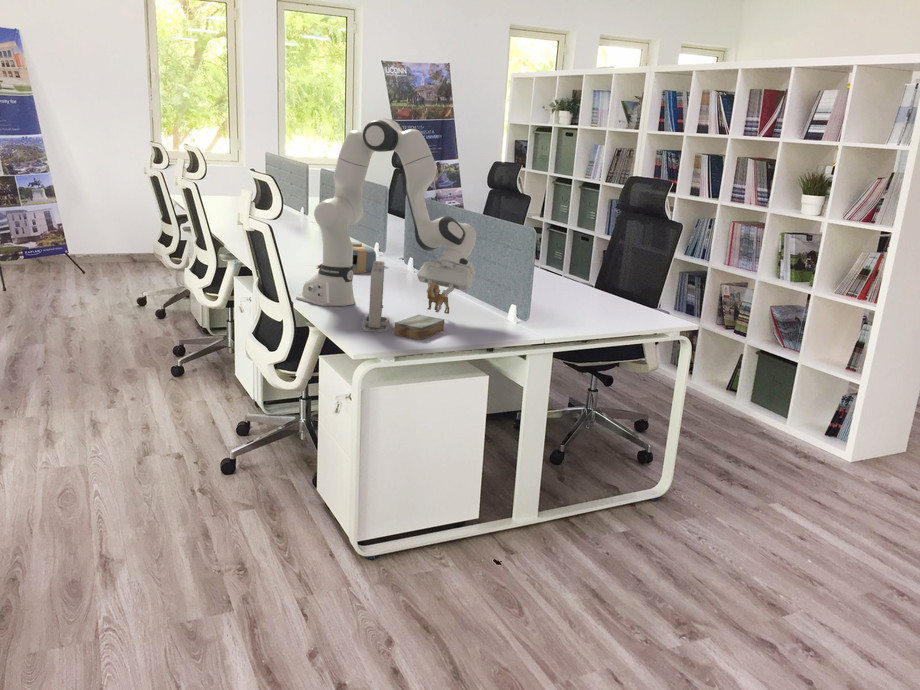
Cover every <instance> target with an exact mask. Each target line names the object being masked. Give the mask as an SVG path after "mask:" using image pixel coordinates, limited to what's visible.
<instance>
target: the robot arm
mask: <svg viewBox="0 0 920 690" xmlns="http://www.w3.org/2000/svg"><path fill="white" fill-rule="evenodd" d="M392 151H393V152H395V153H396V154H397V155H398V157H399V159H400V161H401V164H402V167H403V171H404V175H405V180H406V185H405V192H406V193H405V194H406V197H407V202H408V207H409V209H410V213H411V218H412V220H413V221H412V222H413V226H414V237H415V241H416V243H417V245H418V246H419V247H420V248H421V249H422V250H424V251H428V252H431V251H433V250H436V249H438V248H440V247H443V248H444V251H443V253H442V255H441V256H440V259H439V260H433V259H428V260H426V261H424V262H423V264H422V266H421V267H420V268H419V270H418V271H417V274H416V276H417V279H418V281H419V282H420V283H423V284H424V283H425V284H427V289H426V294H428V289H429V286H430V285H431V284H434V283H435V284H437V285H438V286H439V287H445V288H446V289H442V292H441V294H442V295H443V296H444V297H449V296H448V295H449V294H451V293H452V292H454V290H461V291H466V292H467V291H468V290H470V289H471V286H472V284H473V280H474V276H475V274H476V273H475V268H474V266H473V264H472V262H471V261H470V260H469V259H468V257H469V256H470V255H471V253H472V251H473V249H474V247H475V244H476V240H477V232H476V230H475V229H476V228H474V227H473V226H472V225H470V224H469V223H465V222H459V221H457V220H456V219H455V218H454V217H452V216H449V215H444V216H442V217H438V218H436V219H434V220H431V219H430V215H429V211H428V208H427V204H426V193H427V191H428V189H429V187H430V186H431V184H432V183H433V182H434V181H435V178H436V176H437V172H438V171H437V170H438V169H437V166H436V165H437V164H436V160H435V158H434V156H433V154H432V151H431V149H430V146H429V145H428V141H427V140H426V139H425V137H424V135H423V134H422V132H421V131H420V130H418V129H415V128H414V129H413V128H410V129H406V130H404V127H403V125H402V124H401V123H400V122H398V121H396V120H394V119H389V118H380V119H373V120H371V121H370V122H368V123H367V124H366V125H365V127H364V128H363V130H360V129H352V130H350V131H349V132H348V133H347V134H346V136H345V138H344V141H343V142H342V145H341V148H340V151H339V154H338V158H337V161H336V165H335V169H334V173H333V177H332V178H333V182H334V196H333V197H330V198H326V199H324V200H322V201H321V202H319V203H318V204H317V205H316V206H315V209H314V215H313V217H314V220H315V222H316V224H318V226H319V229H320V233H321V238H322V239H321V240H322V263H321V264H319V265H317V266H316V269H317V270H318V269H319V270H318V271H317V274H315V275H313V276H312V277H311V278H310V279H307V280H306V281H305V282H304V284H303V287H302V293H298V294H297V295H296V296H295V299H297V300H299V301H304V302H307V303H310V304H314V305H318V306H322V307H323V306H326V307H328V306H338V307H340V306H341V307H342V306H351V305H354V304H355V303H356V299H355V295H354V288H353V287H354V286H353V279H354V273H353V243H352V240H351V238H350V232H349V227H351V226H353V225H355V224H357V223H359V221H360V220H361V219H362V218H363V216H364V207H363V189H364V184H365V180H366V177H367V173H368V169H369V166H370V161H371V158H372V156H373V154H374V153H375V152H376V153H378V152H379V153H380V152H381V153H383V152H384V153H385V152H392Z"/></svg>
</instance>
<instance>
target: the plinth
mask: <svg viewBox="0 0 920 690" xmlns="http://www.w3.org/2000/svg"><path fill="white" fill-rule="evenodd" d="M445 321H446V320H445V319H443V318H439V317H433V316H429V315H428V316H427V315H424V314H416V315H413V316H410V317H407V318H404V319H401V320H398V321H395V322H394V327H393V335H396V336H399V337H404V338H408V339H413V340H418V341H421V340H424V339H427V338H429V337H431V336H434V335H437V334H439V333H442V332H444V331H445Z"/></svg>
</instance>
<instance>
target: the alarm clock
mask: <svg viewBox="0 0 920 690" xmlns="http://www.w3.org/2000/svg"><path fill="white" fill-rule="evenodd" d="M351 242H352V241H351ZM352 243H353V274H354V273H355V274H366V273H369V272H372V267H373V262H374V261H377V254H376V251H375V249H373V248H372V247H370V246H367V245H363V244H362V243H361V242H356V241H355V242H352Z"/></svg>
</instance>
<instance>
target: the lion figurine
mask: <svg viewBox="0 0 920 690" xmlns="http://www.w3.org/2000/svg"><path fill="white" fill-rule="evenodd" d="M427 289H428V288H427ZM427 299H428V308H427V309H426V310H429V311H431V309H432V303H434V311H435V313H439V312H440V311H441V310H442V305H443V304H444V307H445V309H444V314H448V315H449V314H450V307H449V296H447V297H444V296H443V295H442V293H441V290H440V286H439V285H437V284H435V283H434V284H431V285H430V286H429V289H428V293H427Z"/></svg>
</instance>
